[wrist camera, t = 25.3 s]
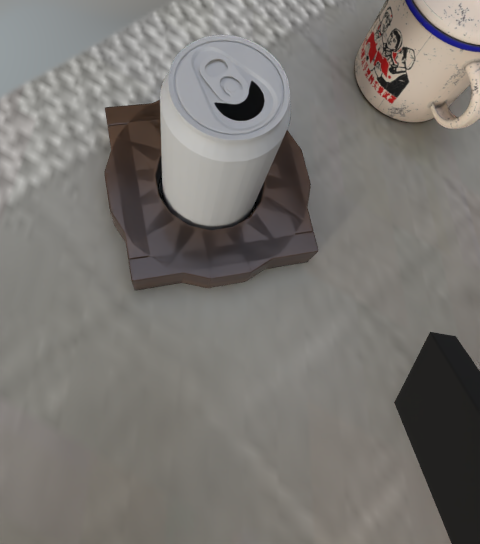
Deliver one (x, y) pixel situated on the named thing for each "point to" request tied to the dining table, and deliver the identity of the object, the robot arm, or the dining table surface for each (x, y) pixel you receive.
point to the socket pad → (192, 240)
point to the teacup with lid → (422, 60)
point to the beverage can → (220, 128)
